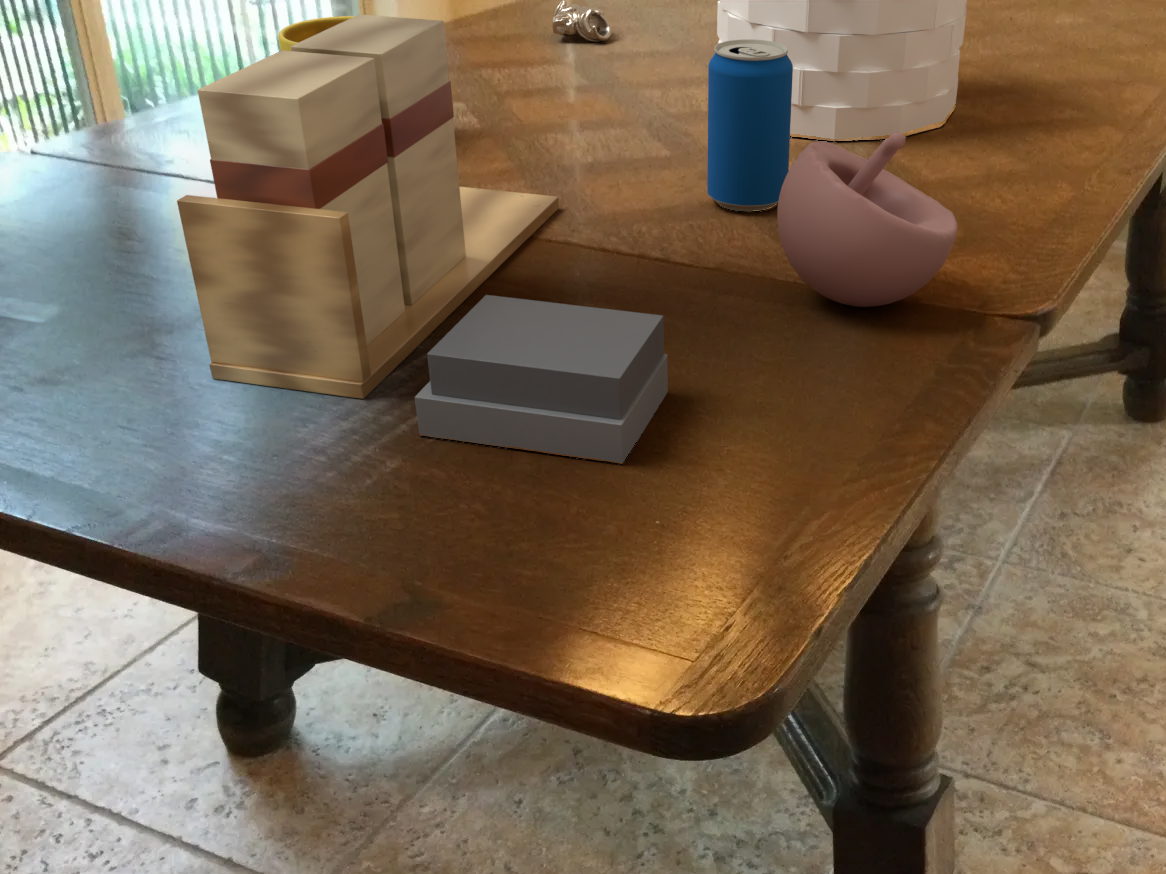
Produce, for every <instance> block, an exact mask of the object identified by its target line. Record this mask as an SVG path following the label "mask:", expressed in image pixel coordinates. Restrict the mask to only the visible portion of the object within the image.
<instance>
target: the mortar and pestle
mask: <svg viewBox="0 0 1166 874" xmlns="http://www.w3.org/2000/svg"><path fill="white" fill-rule="evenodd" d="M905 143H906V137H905V136H904V135H903V134H902V133H894V134H893V135H891V136H890V137H889V138H887V139H885V140H882V142H881V143H880V145H879V146H877V148H876V149H875V150H874V152H873V153H872V154H871V156H870V157H869V158H866V157H863V156H860V155H858V154H856V153H854V152H851V151H850V150H848V149H846V148H844V147H842V146H840V145H837V144H834V143H833V142H827V141H818V140H815V141H813V142H811V143H808V144H807V146H805V148H804V149H802V151H801V152H800V153H799V155H797V157H796V158H795V160H794V161H793V163H792V165H790V168H789V170H788V173H787V175H786V178H785V180H784V182H783V185H782V188H781V192H780V196H779V201H778V204H777V213H776V214H777V215H776V218H777V229H778V230H777V231H778V236H779V240H780V243H781V246H782V249H783V251H784V255H785V256H786V258H787V260H788V262H789V264H790V266H791V268H792V269H793V270H794V271H795V273H796V274H797V275H798V277H800V279H801V280H802V281H803V282H804V283H805V284H806V285H808V287H810V288H811V289H812V290H814V291H815V292H817V293H818V294H819V295H821V296H822V297H824V298H826V299H829V300H831V301H833V302H836V303H839V304H842V305H845V306H846V305H847V306H850V307H857V308H859V307H860V308H869V307H871V308H872V307H879V306H881V307H882V306H886V305H890V304H893V303H896V302H899V301H902V300H904V299H906V298H908V297H909V296H912V295H914V294H915V293H916V292H918V291H920V290H921V289H922V288H923V287H925V286H926V285H927V284H928V283H929V282H930V281H931V280H933V278H934V277H935V276H936V275H938V272H939V271H940V270H941V269H942V267H943V266H944V265H945V262H946V261H947V259H948V258H949V256H950V254H951V252H952V249H953V247H954V244H955V241H956V239H957V233H958V222H957V219H956V216H955V214H954V213H953V212H952V211H951V210H950V209H948V208H946V207H945V206H944V205H943V204H942V203H940V202H939V201H938V200H936V199H933V198H932V197H931V196H929V195H926V194H925V193H924V192H923V191H921V190H920V189H917V188H915V187H914V186H913V185H911V184H909V183H907V182H906V181H905V180H903V179H902V178H900V177H898V176H897V175H895V174H894V173H891V172H890V171H888V170H885V169H884V168H885V167H886V166H887V165H888V163H889V162H890V161H891V159H892V158H893V157H894V156H895V155H896V153H897V152H898V151H899V150H900V149H902V148H903V147H904V146H905Z"/></svg>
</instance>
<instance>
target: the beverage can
mask: <svg viewBox="0 0 1166 874" xmlns="http://www.w3.org/2000/svg"><path fill="white" fill-rule="evenodd" d="M713 49H714V50H713V51H714V54H713V56H712V57H711V58H710V60H709V61H708V68H707V69H708V71H707V73H708V74H707V75H708V77H707V78H708V79H707V80H708V81H707V84H708V85H707V174H706V177H707V178H706V179H707V180H706V181H707V183H706V184H707V186H706V190H707V195H708V196H709V198H710V199H712V200H714V201H715V202H716V204H717V203H718V204H719V205H720V206H719V205H718V204H717V205H718V206H719V207H721V206H722V207H721V208H723V207H724V208H723V209H725V208H728V209H730V210H729V211H732V210H735V211H734V212H738V211H753V210H763V209H767V208H769V207H772V206H774V205H775V204H777V203H778V201H779V196H780V192H781V188H782V185H783V182H784V180H785V178H786V175H787V173H788V171H789V169H790V168H789V167H790V143H791V137H790V123H791V100H792V77H793V65H792V62H791V60H790V59H789V57H788V56H787V53H788V48H787V47H786V46H785V45H783V44H780V43H777V42H772V41H766V40H755V39H741V40H731V41H725V42H722V43H719V44H718V43H717V44H716V45H715V46H714V47H713ZM777 205H778V204H777ZM728 209H727V210H728ZM737 210H738V211H737Z"/></svg>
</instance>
